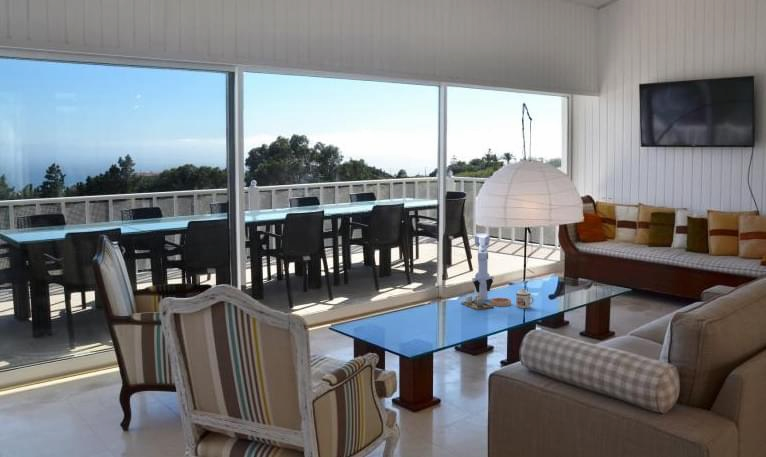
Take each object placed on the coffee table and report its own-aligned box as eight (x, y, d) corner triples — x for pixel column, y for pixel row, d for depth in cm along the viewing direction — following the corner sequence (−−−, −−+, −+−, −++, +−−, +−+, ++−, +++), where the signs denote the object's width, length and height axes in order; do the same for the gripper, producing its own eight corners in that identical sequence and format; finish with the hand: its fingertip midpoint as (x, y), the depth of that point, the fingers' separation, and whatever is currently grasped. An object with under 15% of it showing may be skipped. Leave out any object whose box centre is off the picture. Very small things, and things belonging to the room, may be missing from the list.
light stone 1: (464, 304, 457) (464, 296, 456) (470, 303, 458) (470, 295, 457) (468, 305, 453) (467, 297, 452) (473, 305, 454) (473, 296, 454)
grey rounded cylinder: (476, 306, 449) (476, 298, 449) (481, 306, 451) (481, 297, 450) (479, 308, 446) (479, 299, 445) (484, 307, 447) (484, 298, 447)
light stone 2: (473, 303, 459) (473, 295, 458) (478, 302, 460) (478, 294, 460) (476, 304, 455) (476, 296, 455) (481, 304, 457) (481, 295, 456)
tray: (461, 304, 459) (460, 302, 458) (477, 302, 464) (477, 300, 463) (476, 311, 441) (476, 308, 440) (493, 308, 446) (493, 306, 445)
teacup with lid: (513, 307, 449) (513, 289, 448) (521, 304, 456) (521, 286, 454) (529, 309, 441) (529, 291, 440) (537, 307, 447) (537, 289, 446)
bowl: (486, 303, 460) (486, 299, 459) (503, 301, 465) (503, 297, 464) (497, 307, 448) (497, 302, 448) (514, 305, 453) (514, 300, 453)
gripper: (476, 272, 444) (476, 293, 445) (496, 270, 450) (496, 291, 451) (470, 270, 450) (470, 291, 452) (490, 268, 456) (490, 289, 457)
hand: (483, 291), depth 452 cm, fingers open, 7 cm apart
